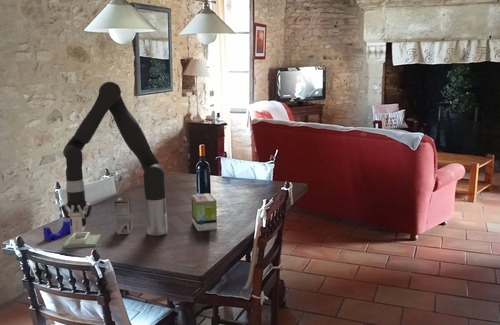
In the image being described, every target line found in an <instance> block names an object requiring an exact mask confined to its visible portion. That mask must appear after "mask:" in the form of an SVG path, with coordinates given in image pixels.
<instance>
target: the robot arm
mask: <svg viewBox="0 0 500 325" xmlns="http://www.w3.org/2000/svg"><path fill="white" fill-rule="evenodd" d="M108 111H109V112H110V114H111V115H112V117H113V120H114V123H115V125H116V127H117V129H118V132H119V134H120V135H121V137H122V139H123V140H124V142H125V144H126V145H127V147H128V148H129V150H130V151H131V152H132V153H133V154H134V155H135V157H136V158H137V160H138V161H139V163H140V165H141V168H142V170H143V187H144V188H143V189H144V198H145V212H146V231H147V235H148V236H155V237H156V236H157V237H158V236H163V235H167V234H168V215H167V214H168V213H167V205H166V201H167V200H166V189H165V186H166V185H165V170H164V167H163V166H162V164H160V162H159V160H158V159H157V158H156V156H155V154H154V153H153V151H152V149H151V146H150V144H149V142H148V140H147V137H146V136H145V133H144V132H143V130H142V127H141V126H140V125H139V123H138V121H137V120H136V118H135V117H134V115H132V112H130V110H129V108H128V107H127V106H126V104H125V102H124V100H123V96H122V89H121V87H120V85H119V84H118V83H116V82H114V81H105V82H104V83H102V84H101V85H100V87H99V89H98V95H97V97H96V100H95V102H94V104H93V106H92V107H91V108H90V110H89V111H88V113H87V114H86V116H85V117H84V118H83V120H82V121H81V123H80V124H79V126H78V128H77V129H76V131H75V132H74V134H73V136H72V137H71V138H70V139H69V141H68V142H67V143H66V144H65V146H64V148H63V152H62V153H63V156H64V158H65V161H66V162H65V164H66V168H65V179H66V182H65V187H66V188H65V190H66V198H67V200H66V201H67V202H66V203H65V204H61V206H60V209H61V211H62V212H63V216H64V218H65V219H69V222H70V227H72V217H71V214H72V213H73V212H76V211H77V212H80V213H81V214H82V226H85V227H86V225H87V218H89V217H90V215H91V212H92V209H93V206H94V205H93V203H88V202H87V201H86V192H85V191H86V190H85V182H84V174H83V173H84V172H83V159H84V158H83V152H82V150H83V149H84V147H85V146H86V145H87V144H88V143H89V142H90V141H91V140H92V138H93V137H94V134H96V132H97V130H98V128H99V126H100V125H101V122H102V121H103V119H104V117H105V116H106V114H107V113H108ZM85 208H86V209H87V212H86V211H85ZM68 209H69V210H70V213H69V210H68Z"/></svg>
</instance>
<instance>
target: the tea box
mask: <svg viewBox="0 0 500 325" xmlns="http://www.w3.org/2000/svg"><path fill="white" fill-rule="evenodd" d="M190 199H191V221H192V222H191V223H192V224H193V226H194V227H195V229H196V231H197V232H204V231H211V230H217V228H218V225H217V224H218V221H217V220H218V216H217V215H218V214H217V213H218V212H217V211H218V210H217V208H218V207H217V200H216V198H215V197H214V196H213V195H212V194H211V193H209V192H208V193H201V194H200V193H199V194H191V198H190Z"/></svg>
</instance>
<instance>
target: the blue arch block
mask: <svg viewBox="0 0 500 325" xmlns="http://www.w3.org/2000/svg"><path fill="white" fill-rule="evenodd" d="M42 229H43V240H44V241H48V242H52V241H56V240H58V239H61V238H63V237H64V236H67V235H70V234H72V233H71V232H72V231H71V229H72V228H71V225H70V220H69V221H68V220H64V221H63V222H62V227H61V229H60V230H59V231H57V232H55V233H54V232H52V231H51V228H50V227H48V226H44V227H43V228H42Z"/></svg>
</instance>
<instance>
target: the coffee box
mask: <svg viewBox="0 0 500 325" xmlns="http://www.w3.org/2000/svg"><path fill="white" fill-rule="evenodd" d="M114 209H115V212H114V213H115V222H116V225H115V226H116V234H117V235H130V234H131V232H132V229H133V216H132V200H131V196H116V199H115V201H114Z"/></svg>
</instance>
